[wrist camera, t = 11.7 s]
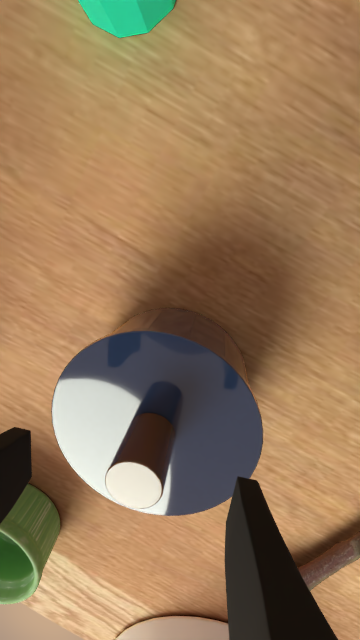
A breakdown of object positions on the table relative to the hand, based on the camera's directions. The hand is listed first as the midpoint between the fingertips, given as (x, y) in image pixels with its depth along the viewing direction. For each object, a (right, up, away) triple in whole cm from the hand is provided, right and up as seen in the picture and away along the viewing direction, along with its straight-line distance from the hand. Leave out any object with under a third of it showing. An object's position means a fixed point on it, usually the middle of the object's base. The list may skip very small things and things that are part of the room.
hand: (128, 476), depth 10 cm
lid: (0, 0, +5) cm, 5 cm away
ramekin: (-13, -12, +17) cm, 24 cm away
